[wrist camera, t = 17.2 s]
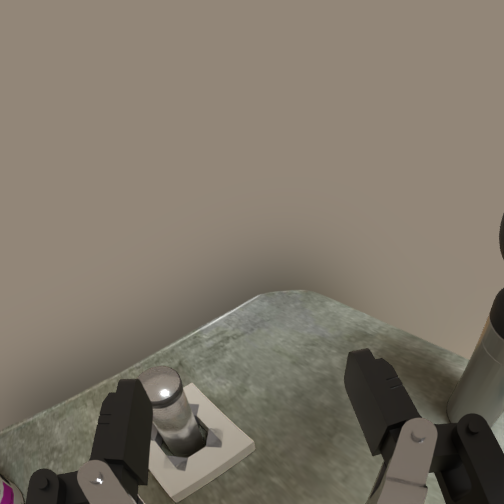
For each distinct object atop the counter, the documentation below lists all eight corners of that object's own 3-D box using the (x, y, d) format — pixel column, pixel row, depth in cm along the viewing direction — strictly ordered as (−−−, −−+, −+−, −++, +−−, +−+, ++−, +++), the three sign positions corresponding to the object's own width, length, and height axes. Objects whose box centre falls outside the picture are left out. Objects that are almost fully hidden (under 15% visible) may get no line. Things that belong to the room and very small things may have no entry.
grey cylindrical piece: (190, 423, 40) (165, 358, 34) (212, 446, 37) (189, 385, 30) (161, 441, 38) (126, 379, 31) (181, 466, 34) (147, 409, 28)
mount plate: (195, 392, 46) (191, 382, 45) (255, 449, 36) (254, 441, 35) (125, 432, 38) (119, 424, 37) (176, 503, 29) (170, 497, 28)
